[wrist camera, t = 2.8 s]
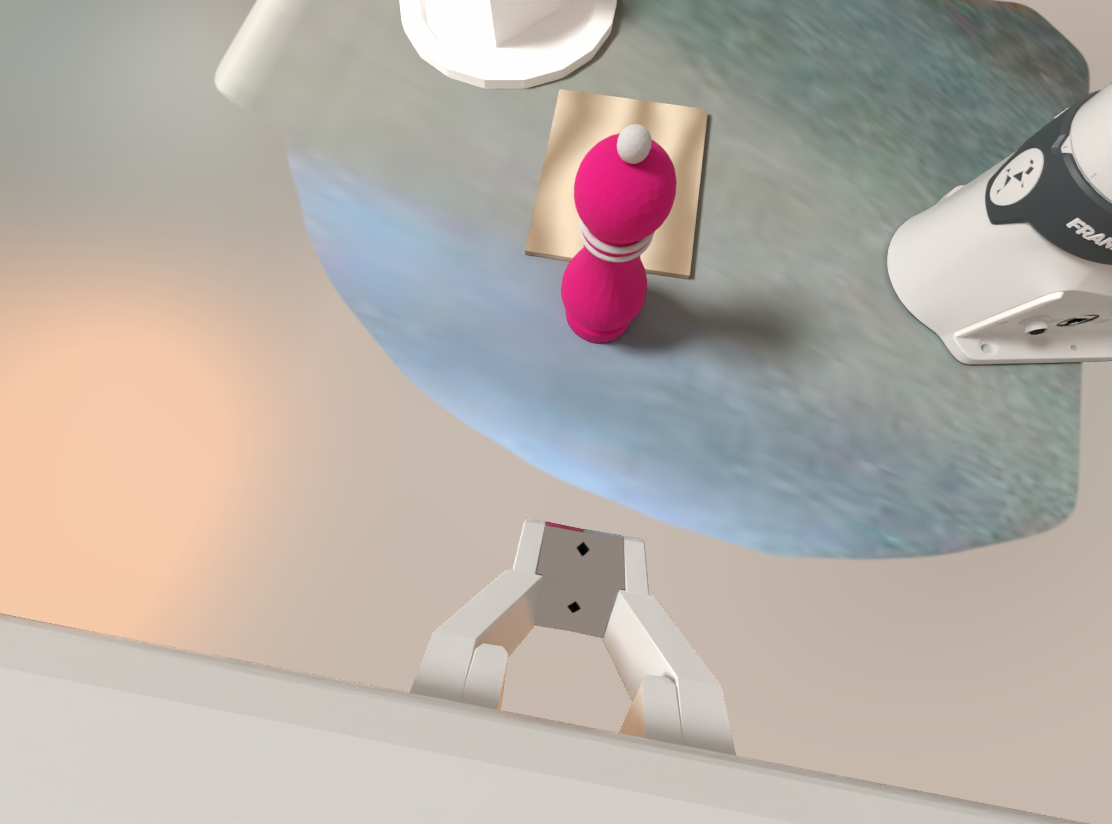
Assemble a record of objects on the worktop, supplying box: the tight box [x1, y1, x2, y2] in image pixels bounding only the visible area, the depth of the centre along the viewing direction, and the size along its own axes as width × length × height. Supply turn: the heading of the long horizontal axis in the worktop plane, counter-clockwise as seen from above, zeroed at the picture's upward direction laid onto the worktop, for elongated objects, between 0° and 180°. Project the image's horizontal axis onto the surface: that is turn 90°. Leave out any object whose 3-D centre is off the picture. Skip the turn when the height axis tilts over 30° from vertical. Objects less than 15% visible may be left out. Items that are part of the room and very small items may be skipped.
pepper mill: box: [561, 124, 677, 343], centre depth 31 cm, size 7×7×20 cm
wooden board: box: [525, 89, 708, 279], centre depth 44 cm, size 16×20×1 cm
